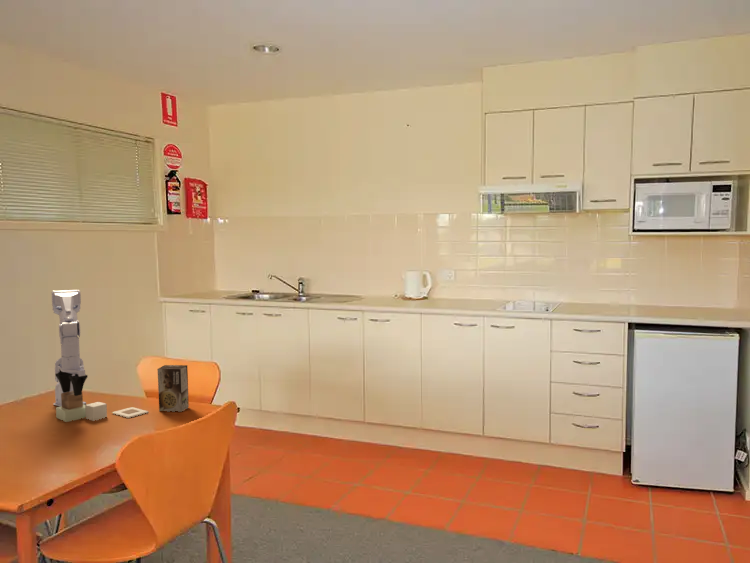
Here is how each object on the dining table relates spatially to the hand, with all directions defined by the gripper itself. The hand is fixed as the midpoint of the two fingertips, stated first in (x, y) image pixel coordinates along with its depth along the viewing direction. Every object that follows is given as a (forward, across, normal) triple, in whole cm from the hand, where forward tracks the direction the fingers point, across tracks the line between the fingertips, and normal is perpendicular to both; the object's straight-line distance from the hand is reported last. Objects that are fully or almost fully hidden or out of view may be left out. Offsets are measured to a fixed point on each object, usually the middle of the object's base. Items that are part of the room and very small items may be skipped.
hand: (72, 393), depth 210 cm
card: (+8, -13, -14) cm, 21 cm away
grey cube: (+8, -8, -4) cm, 12 cm away
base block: (+9, 0, 0) cm, 9 cm away
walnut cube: (+5, 0, 0) cm, 5 cm away
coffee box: (+9, -22, -26) cm, 35 cm away
